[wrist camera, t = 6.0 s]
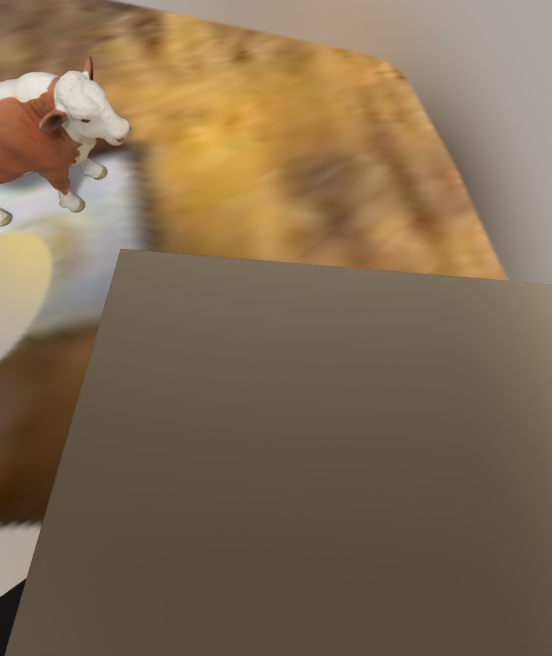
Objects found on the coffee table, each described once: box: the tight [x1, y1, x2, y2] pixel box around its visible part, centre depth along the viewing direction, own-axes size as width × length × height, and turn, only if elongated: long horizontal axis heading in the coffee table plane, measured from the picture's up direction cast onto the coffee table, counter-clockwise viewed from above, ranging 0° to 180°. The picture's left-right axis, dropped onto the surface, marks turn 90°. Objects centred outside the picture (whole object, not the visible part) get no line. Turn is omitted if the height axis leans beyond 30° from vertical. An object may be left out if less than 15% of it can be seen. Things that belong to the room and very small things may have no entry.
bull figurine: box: [0, 56, 131, 226], centre depth 24 cm, size 4×13×8 cm, turn 93°
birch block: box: [5, 249, 552, 656], centre depth 8 cm, size 4×4×13 cm
